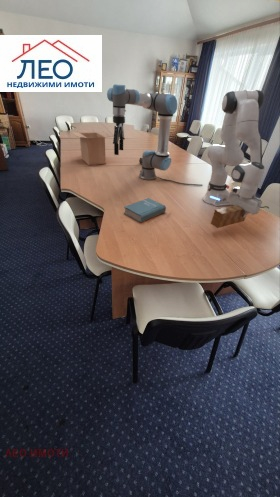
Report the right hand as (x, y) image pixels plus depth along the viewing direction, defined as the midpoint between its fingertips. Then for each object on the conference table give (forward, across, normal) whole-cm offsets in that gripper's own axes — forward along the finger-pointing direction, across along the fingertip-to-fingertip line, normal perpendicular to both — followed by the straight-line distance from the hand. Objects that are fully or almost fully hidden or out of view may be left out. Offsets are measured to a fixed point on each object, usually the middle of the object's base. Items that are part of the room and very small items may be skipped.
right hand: (238, 214), depth 134 cm
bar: (+4, 0, +8) cm, 9 cm away
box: (+10, +164, +33) cm, 168 cm away
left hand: (-21, +70, +48) cm, 87 cm away
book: (+10, +39, +42) cm, 58 cm away
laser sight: (+9, +134, -19) cm, 136 cm away
